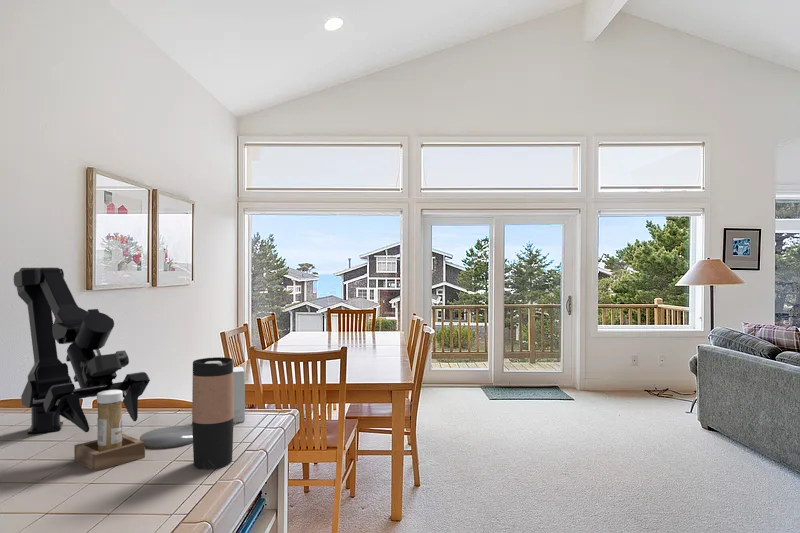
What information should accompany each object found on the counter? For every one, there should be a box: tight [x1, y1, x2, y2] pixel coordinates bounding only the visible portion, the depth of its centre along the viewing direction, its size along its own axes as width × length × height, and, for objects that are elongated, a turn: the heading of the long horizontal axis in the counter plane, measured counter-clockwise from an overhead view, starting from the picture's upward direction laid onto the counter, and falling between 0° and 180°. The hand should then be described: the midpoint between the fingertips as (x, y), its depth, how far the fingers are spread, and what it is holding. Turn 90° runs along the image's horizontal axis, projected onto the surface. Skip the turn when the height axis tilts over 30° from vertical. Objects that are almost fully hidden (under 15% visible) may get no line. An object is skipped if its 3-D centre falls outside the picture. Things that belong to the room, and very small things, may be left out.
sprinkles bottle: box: [96, 390, 124, 452], centre depth 107 cm, size 5×5×14 cm
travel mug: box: [191, 356, 234, 470], centre depth 105 cm, size 8×8×20 cm
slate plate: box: [139, 425, 193, 449], centre depth 120 cm, size 13×13×1 cm
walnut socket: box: [73, 433, 146, 472], centre depth 107 cm, size 9×9×3 cm
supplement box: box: [233, 366, 246, 423], centre depth 135 cm, size 7×7×13 cm
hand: (112, 425), depth 106 cm, fingers open, 9 cm apart
